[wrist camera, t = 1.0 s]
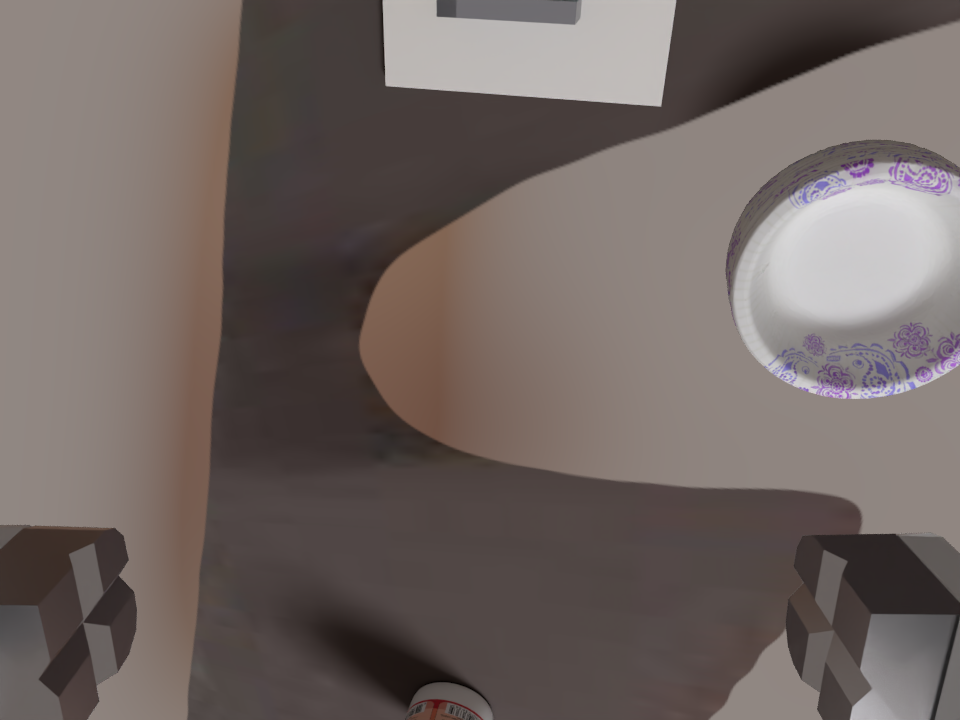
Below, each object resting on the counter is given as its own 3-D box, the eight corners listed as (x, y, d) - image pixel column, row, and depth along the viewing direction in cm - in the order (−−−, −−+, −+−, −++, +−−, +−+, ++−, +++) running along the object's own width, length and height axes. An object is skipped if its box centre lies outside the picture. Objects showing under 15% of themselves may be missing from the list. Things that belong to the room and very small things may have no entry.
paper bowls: (928, 77, 45) (972, 107, 39) (1004, 287, 50) (1055, 346, 44) (685, 196, 52) (686, 239, 45) (774, 372, 57) (788, 434, 50)
